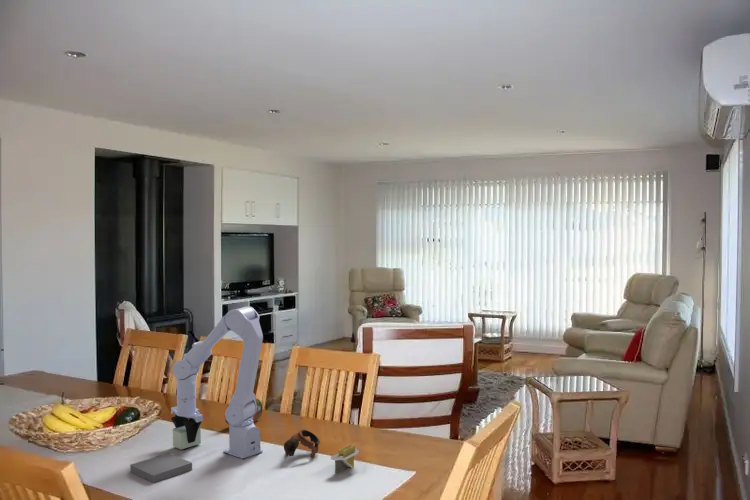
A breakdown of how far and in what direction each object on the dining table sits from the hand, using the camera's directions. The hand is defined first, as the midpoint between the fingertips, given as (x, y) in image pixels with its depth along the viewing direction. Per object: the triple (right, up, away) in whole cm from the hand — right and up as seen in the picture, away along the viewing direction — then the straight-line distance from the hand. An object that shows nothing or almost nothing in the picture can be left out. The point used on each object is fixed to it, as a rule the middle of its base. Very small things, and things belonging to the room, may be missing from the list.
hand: (186, 440), depth 195 cm
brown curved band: (+36, -2, -8) cm, 37 cm away
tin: (+13, -2, +23) cm, 27 cm away
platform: (+51, -3, -19) cm, 54 cm away
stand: (-1, -3, -20) cm, 20 cm away
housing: (0, -1, 0) cm, 1 cm away
